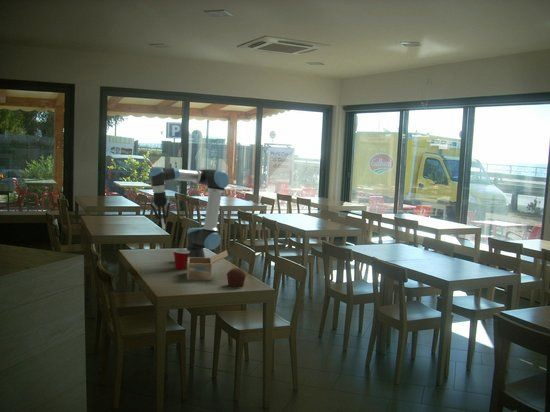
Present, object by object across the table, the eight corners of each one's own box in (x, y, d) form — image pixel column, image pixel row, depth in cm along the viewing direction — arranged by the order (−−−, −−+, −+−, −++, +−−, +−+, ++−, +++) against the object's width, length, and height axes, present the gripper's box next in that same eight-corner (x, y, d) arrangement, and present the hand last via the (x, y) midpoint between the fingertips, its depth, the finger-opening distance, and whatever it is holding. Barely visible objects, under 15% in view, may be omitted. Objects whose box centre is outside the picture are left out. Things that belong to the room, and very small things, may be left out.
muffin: (246, 288, 330) (247, 271, 329) (227, 288, 328) (228, 270, 327) (243, 283, 342) (244, 266, 341) (225, 283, 339) (225, 266, 339)
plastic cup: (185, 270, 367) (186, 252, 366) (169, 269, 369) (170, 250, 368) (191, 267, 378) (192, 249, 377) (176, 266, 380) (176, 248, 379)
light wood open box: (187, 272, 363) (188, 256, 362) (210, 273, 365) (211, 257, 364) (186, 280, 342) (187, 263, 341) (211, 280, 344) (211, 264, 343)
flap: (211, 257, 363) (226, 250, 363) (211, 257, 363) (226, 250, 363) (211, 263, 344) (227, 255, 345) (212, 263, 344) (228, 256, 345)
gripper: (147, 193, 355) (152, 231, 359) (168, 191, 355) (173, 228, 359) (149, 192, 362) (154, 228, 366) (170, 190, 363) (174, 226, 367)
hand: (163, 228), depth 363 cm, fingers closed
